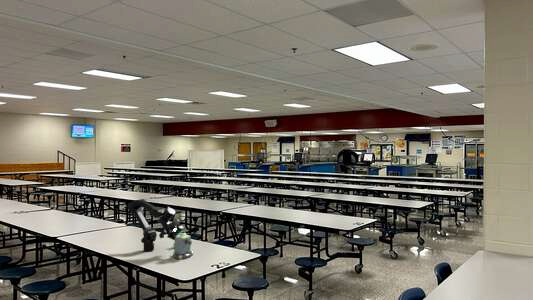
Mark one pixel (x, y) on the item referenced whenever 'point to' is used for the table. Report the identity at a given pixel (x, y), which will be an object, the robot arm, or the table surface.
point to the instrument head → (182, 243)
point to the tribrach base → (183, 255)
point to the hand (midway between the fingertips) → (178, 241)
